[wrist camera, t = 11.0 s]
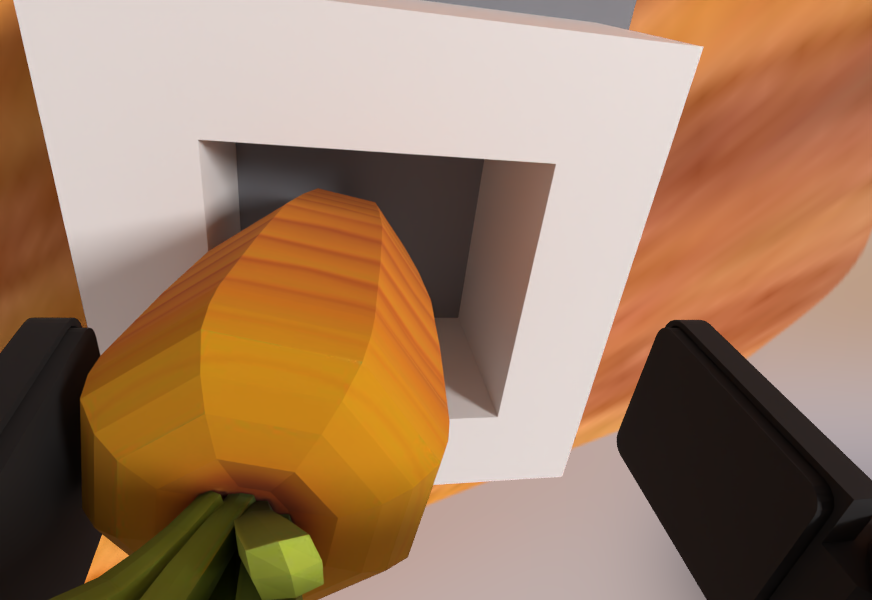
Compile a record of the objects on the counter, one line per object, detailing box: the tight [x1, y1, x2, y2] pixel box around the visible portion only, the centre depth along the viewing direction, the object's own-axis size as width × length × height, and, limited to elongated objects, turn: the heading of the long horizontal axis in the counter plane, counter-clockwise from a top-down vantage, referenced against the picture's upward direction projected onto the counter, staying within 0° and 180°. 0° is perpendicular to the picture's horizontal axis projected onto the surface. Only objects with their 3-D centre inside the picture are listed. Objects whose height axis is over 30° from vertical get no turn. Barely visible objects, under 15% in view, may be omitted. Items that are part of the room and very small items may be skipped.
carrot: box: [49, 188, 450, 600], centre depth 10 cm, size 5×5×15 cm
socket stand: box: [13, 0, 703, 485], centre depth 15 cm, size 16×14×6 cm
